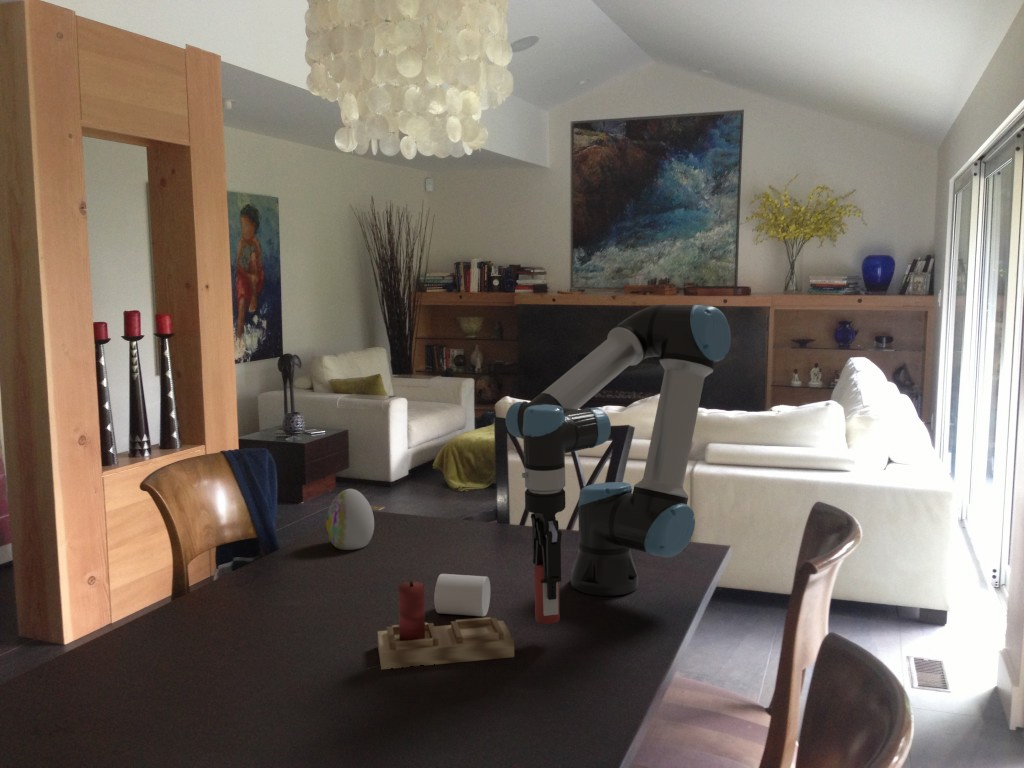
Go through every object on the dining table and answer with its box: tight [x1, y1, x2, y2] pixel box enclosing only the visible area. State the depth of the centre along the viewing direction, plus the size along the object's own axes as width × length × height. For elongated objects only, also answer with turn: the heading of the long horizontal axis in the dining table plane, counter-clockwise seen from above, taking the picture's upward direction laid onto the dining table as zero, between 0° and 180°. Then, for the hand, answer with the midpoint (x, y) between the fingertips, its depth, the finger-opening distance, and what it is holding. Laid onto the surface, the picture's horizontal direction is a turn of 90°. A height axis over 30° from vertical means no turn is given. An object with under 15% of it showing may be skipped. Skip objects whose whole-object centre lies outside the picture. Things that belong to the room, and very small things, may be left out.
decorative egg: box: [325, 488, 375, 551], centre depth 225 cm, size 12×12×15 cm
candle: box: [533, 564, 561, 625], centre depth 164 cm, size 5×5×11 cm
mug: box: [433, 573, 491, 618], centre depth 181 cm, size 12×10×8 cm
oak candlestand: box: [377, 580, 515, 670], centre depth 160 cm, size 24×10×14 cm, turn 102°
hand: (547, 608), depth 164 cm, fingers closed on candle, 4 cm apart
